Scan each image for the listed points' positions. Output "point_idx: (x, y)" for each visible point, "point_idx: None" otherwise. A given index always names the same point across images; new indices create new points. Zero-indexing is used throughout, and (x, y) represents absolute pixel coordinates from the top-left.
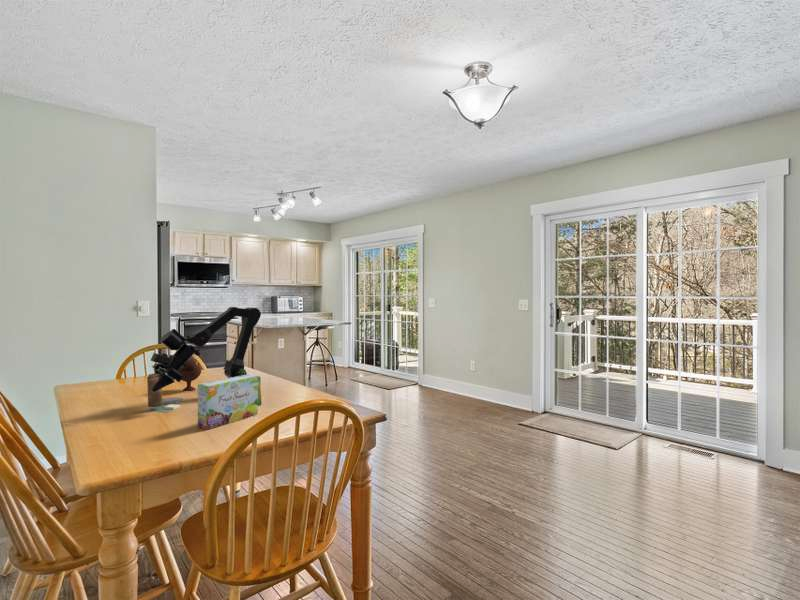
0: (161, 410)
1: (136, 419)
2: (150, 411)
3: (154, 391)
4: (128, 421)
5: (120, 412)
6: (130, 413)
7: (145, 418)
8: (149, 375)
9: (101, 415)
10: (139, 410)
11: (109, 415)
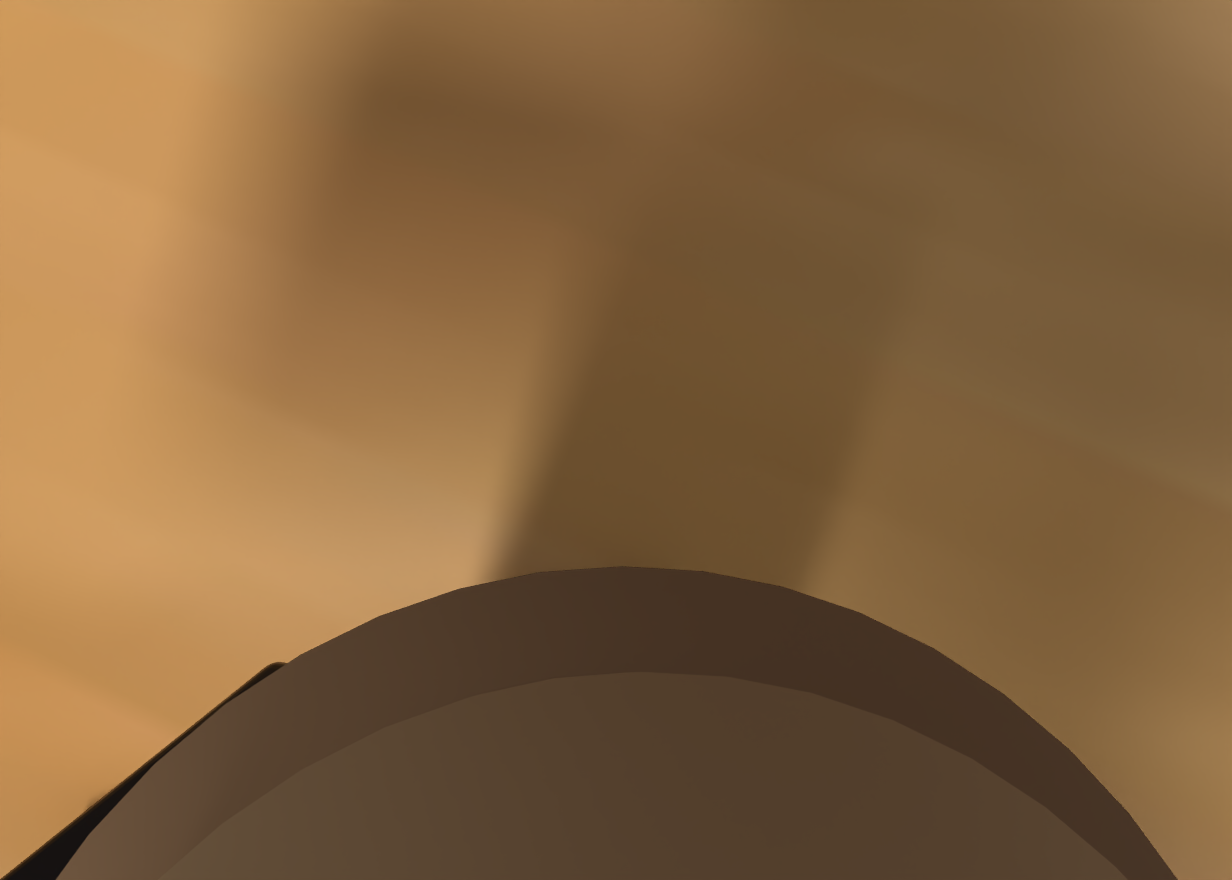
0: None
1: (226, 232)
2: None
3: None
4: (229, 87)
5: (1057, 289)
6: (805, 369)
7: (127, 367)
8: (537, 692)
9: (1111, 3)
10: (902, 594)
11: (991, 79)
